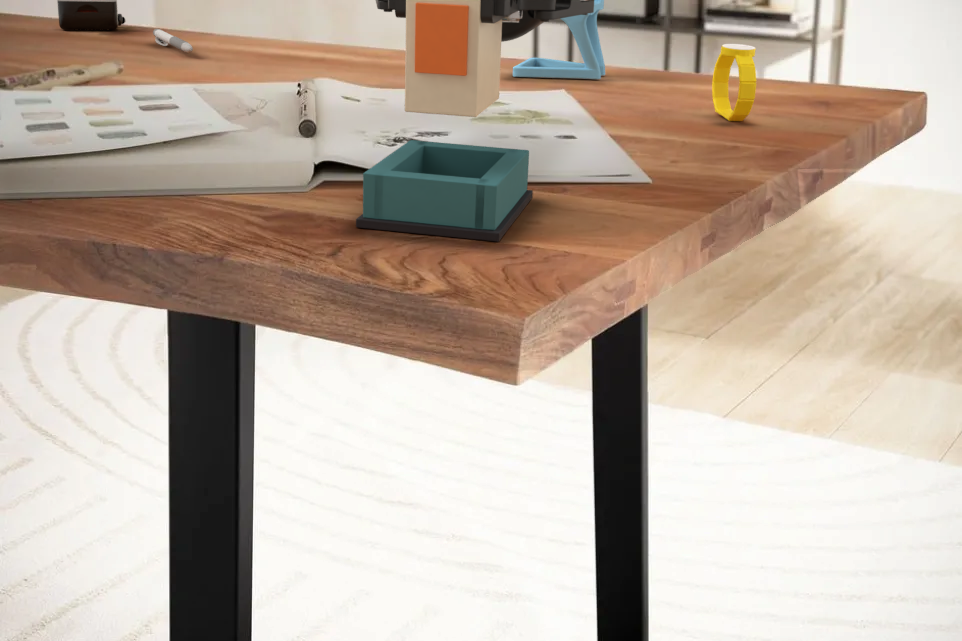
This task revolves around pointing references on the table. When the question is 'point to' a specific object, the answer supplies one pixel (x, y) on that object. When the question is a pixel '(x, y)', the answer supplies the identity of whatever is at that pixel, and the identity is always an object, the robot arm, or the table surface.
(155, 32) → the pen
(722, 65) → the watch
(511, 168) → the box
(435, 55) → the toy robot
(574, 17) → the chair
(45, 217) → the table surface
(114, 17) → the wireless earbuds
